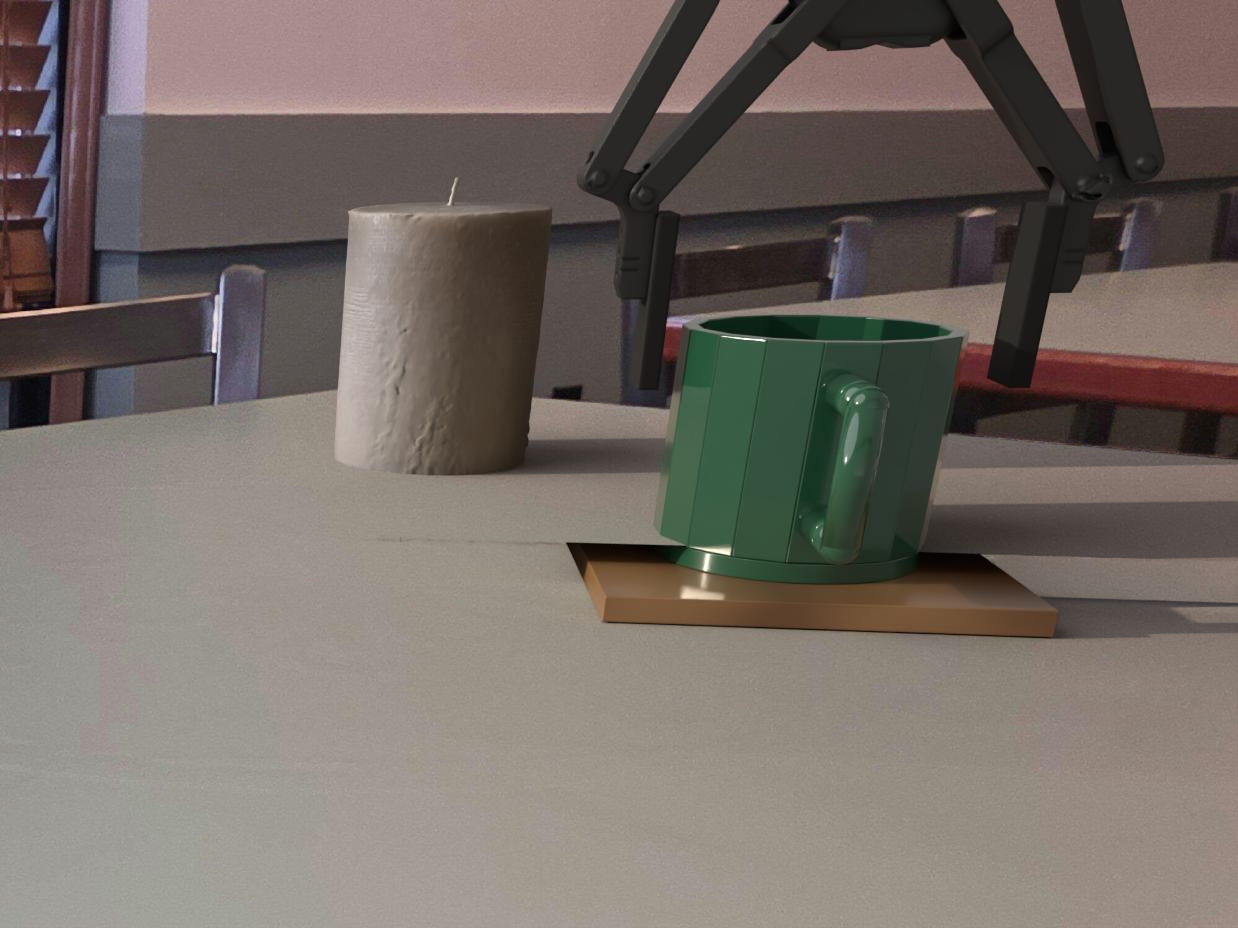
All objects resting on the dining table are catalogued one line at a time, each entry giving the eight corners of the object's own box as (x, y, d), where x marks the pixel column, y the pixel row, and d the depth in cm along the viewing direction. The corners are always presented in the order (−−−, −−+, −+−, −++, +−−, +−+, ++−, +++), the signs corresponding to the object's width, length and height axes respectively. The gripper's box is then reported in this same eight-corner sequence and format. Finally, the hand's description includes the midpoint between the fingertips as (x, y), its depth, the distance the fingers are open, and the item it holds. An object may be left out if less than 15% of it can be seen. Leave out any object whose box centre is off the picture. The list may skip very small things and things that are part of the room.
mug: (636, 525, 78) (666, 312, 74) (880, 531, 76) (924, 314, 72) (688, 605, 65) (728, 354, 61) (982, 615, 63) (1042, 357, 59)
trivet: (928, 541, 78) (933, 519, 78) (1053, 637, 64) (1060, 611, 64) (560, 531, 81) (562, 510, 81) (601, 621, 67) (605, 596, 66)
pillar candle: (548, 488, 90) (586, 174, 84) (481, 522, 83) (517, 181, 77) (373, 471, 95) (396, 173, 89) (296, 501, 88) (315, 180, 82)
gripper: (563, -244, 59) (505, 400, 68) (1388, -301, 55) (1209, 396, 64) (543, -209, 66) (493, 373, 75) (1277, -258, 61) (1129, 368, 70)
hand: (822, 385), depth 69 cm, fingers open, 13 cm apart
